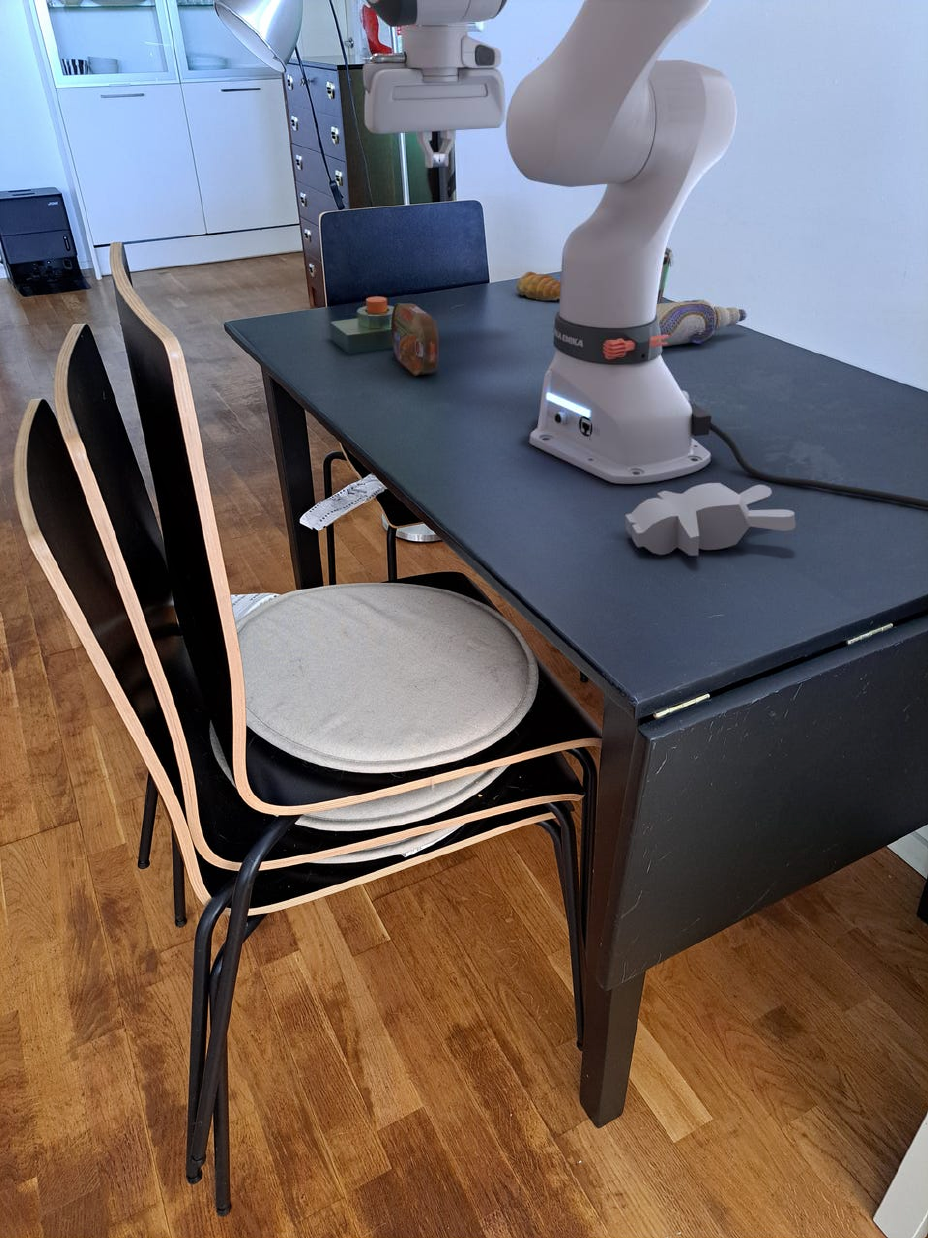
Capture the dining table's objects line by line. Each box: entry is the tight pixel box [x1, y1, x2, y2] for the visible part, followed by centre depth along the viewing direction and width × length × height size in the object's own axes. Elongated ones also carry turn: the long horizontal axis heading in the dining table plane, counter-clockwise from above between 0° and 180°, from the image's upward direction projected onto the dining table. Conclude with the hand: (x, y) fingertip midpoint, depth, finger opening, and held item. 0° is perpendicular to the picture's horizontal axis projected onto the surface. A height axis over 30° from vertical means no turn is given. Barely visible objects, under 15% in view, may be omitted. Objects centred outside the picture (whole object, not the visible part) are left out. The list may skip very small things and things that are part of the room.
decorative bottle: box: [656, 299, 747, 348], centre depth 138 cm, size 26×8×7 cm, turn 113°
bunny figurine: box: [624, 482, 796, 557], centre depth 86 cm, size 10×5×15 cm
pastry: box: [516, 271, 561, 302], centre depth 163 cm, size 9×7×4 cm
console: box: [330, 304, 394, 355], centre depth 140 cm, size 8×13×5 cm, turn 116°
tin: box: [391, 302, 440, 377], centre depth 129 cm, size 15×3×8 cm, turn 21°
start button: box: [365, 296, 388, 313], centre depth 138 cm, size 3×3×2 cm
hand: (436, 166), depth 126 cm, fingers closed
